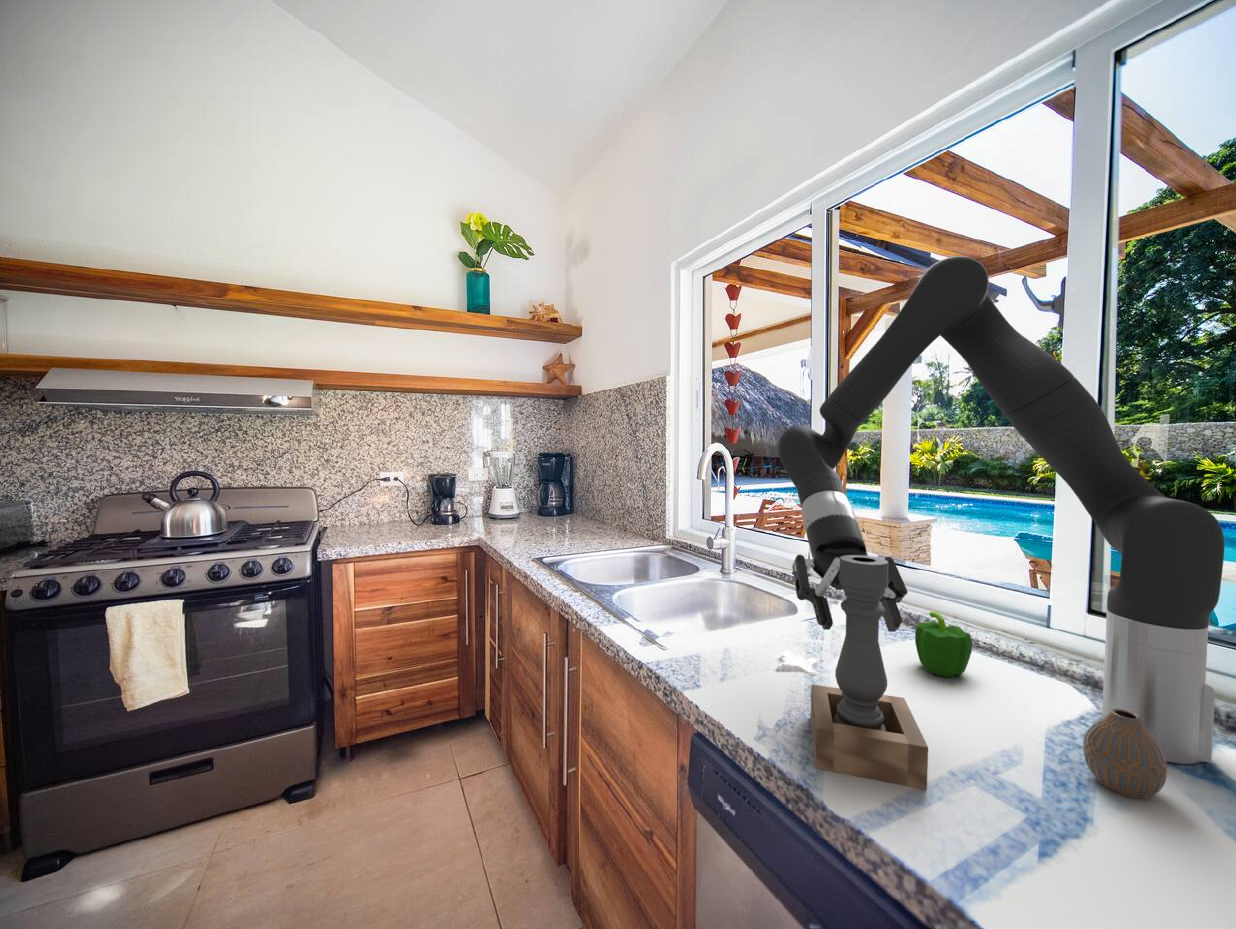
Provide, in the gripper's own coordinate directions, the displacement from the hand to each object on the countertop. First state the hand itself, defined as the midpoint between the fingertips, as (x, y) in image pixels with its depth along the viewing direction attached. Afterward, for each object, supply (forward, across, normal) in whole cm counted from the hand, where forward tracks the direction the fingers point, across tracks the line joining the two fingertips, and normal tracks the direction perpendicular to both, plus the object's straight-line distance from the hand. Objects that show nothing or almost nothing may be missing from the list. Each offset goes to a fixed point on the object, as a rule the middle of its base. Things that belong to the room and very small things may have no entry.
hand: (861, 628), depth 66 cm
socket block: (+12, 0, +10) cm, 16 cm away
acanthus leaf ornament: (-5, 0, +29) cm, 29 cm away
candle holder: (+12, 0, +11) cm, 16 cm away
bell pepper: (-5, +24, +28) cm, 37 cm away
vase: (+16, +28, +7) cm, 33 cm away
